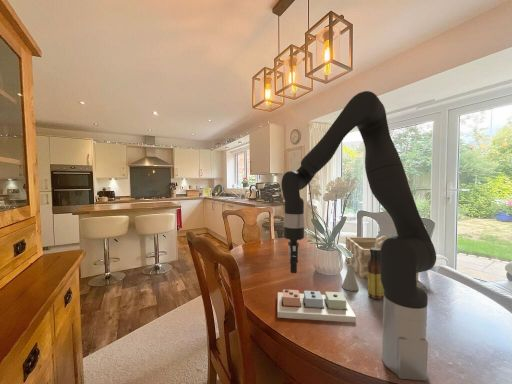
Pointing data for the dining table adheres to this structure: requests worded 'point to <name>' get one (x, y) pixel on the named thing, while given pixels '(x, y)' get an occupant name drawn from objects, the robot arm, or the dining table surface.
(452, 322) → the dining table surface
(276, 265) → the dining table surface
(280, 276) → the dining table surface
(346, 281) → the flask
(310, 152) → the robot arm
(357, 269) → the woven basket
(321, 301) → the tile two
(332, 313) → the board
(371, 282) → the sauce bottle
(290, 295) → the tile three
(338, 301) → the tile one
